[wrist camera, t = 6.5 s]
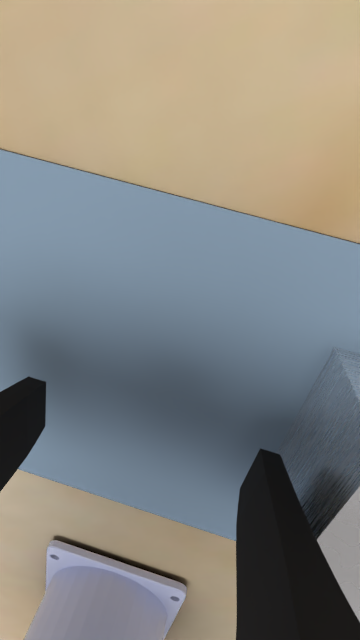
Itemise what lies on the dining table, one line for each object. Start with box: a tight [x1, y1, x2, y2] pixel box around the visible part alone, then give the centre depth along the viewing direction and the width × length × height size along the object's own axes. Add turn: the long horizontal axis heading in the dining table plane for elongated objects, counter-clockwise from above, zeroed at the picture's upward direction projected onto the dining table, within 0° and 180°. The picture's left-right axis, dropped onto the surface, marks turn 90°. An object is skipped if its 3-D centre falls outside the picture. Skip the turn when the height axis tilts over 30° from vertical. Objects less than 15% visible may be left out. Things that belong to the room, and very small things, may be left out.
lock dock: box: [0, 149, 360, 541], centre depth 11 cm, size 14×22×2 cm, turn 78°
